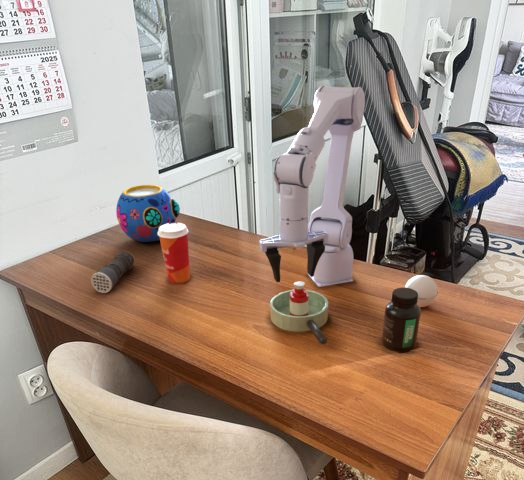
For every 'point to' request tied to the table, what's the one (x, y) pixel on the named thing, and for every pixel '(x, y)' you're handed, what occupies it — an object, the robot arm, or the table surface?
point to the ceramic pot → (145, 211)
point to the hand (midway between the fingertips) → (294, 277)
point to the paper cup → (175, 251)
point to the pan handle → (316, 332)
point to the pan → (298, 323)
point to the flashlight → (112, 272)
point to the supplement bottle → (401, 321)
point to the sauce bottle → (299, 300)
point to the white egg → (423, 289)
